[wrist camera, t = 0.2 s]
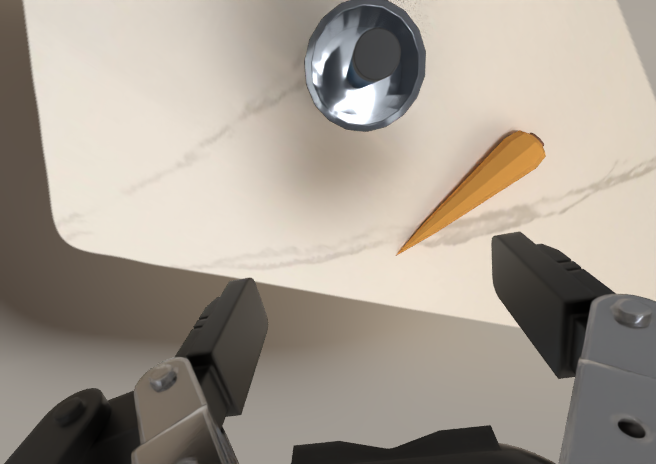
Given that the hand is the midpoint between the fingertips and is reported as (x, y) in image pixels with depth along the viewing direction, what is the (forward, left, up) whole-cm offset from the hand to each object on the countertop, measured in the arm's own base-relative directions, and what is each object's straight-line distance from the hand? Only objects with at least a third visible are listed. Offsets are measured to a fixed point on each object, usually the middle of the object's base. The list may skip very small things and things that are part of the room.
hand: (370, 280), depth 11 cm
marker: (-7, +3, -28) cm, 29 cm away
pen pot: (-7, +3, -29) cm, 30 cm away
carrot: (+8, +11, -29) cm, 32 cm away
